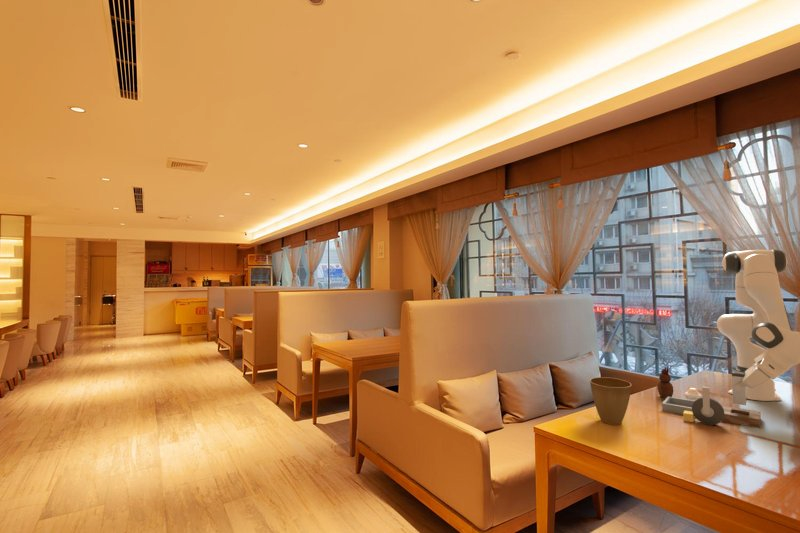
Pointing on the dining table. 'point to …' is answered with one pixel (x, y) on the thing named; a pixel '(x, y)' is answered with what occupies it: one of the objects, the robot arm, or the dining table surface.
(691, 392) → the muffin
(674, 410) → the tray
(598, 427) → the dining table surface
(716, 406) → the grey disc with lever
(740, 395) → the pin
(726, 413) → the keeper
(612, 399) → the plant pot
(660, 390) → the wooden figurine
